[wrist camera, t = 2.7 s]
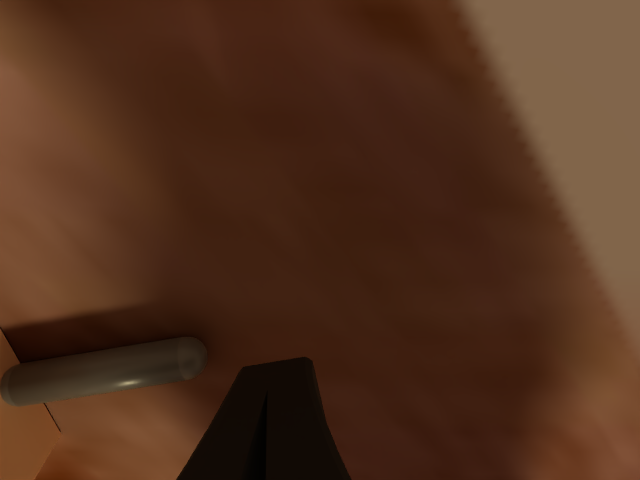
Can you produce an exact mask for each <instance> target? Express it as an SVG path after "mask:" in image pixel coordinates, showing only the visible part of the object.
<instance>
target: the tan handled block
mask: <svg viewBox="0 0 640 480" xmlns="http://www.w3.org/2000/svg"><path fill="white" fill-rule="evenodd" d="M207 360H208V354H207V350H206V348H205V346H204V344H203V343H202V342H201V341H200V340H198V339H196V338H194V337H188V336H187V337H179V338H173V339H167V340H161V341H155V342H148V343H142V344H136V345H130V346H124V347H118V348H112V349H106V350H100V351H94V352H87V353H81V354H75V355H69V356H63V357H57V358H51V359H45V360H39V361H32V362H26V363H21V364H20V362H19V360H18V358H17V357H16V355H15V353H14V352H13V350H12V348H11V346H10V345H9V343H8V341H7V339H6V338H5V336H4V334H3V332H2V331H1V329H0V480H34V479H35V478H36V476H37V474H38V473H39V471H40V469H41V468H42V466H43V464H44V463H45V461H46V459H47V458H48V456H49V454H50V453H51V451H52V449H53V447H54V446H55V444H56V442H57V441H58V439H59V437H60V436H61V433H60V431H59V429H58V428H57V426H56V424H55V422H54V421H53V419H52V417H51V416H50V414H49V412H48V410H47V409H46V407H45V405H44V403H47V402H53V401H59V400H65V399H72V398H78V397H84V396H91V395H97V394H103V393H109V392H116V391H122V390H128V389H134V388H141V387H147V386H153V385H160V384H166V383H172V382H178V381H185V380H190V379H193V378H195V377H197V376H198V375H199V374H201V372H202V371H203V370H204V368H205V367H206V364H207Z"/></svg>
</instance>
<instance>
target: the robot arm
mask: <svg viewBox="0 0 640 480" xmlns="http://www.w3.org/2000/svg"><path fill="white" fill-rule="evenodd" d="M176 480H351V478H350V476H349V474H348V472H347V470H346V468H345V466H344V463H343V461H342V459H341V457H340V455H339V452H338V450H337V448H336V445H335V443H334V440H333V438H332V435H331V433H330V430H329V428H328V426H327V423H326V419H325V415H324V410H323V406H322V401H321V397H320V393H319V388H318V384H317V379H316V375H315V370H314V366H313V362H312V360H310V359H309V358H307V357H301V358H295V359H288V360H282V361H276V362H270V363H264V364H258V365H251V366H245V367H243V368H242V369H241V370H240V372H239V373H238V375H237V377H236V379H235V381H234V382H233V384H232V386H231V388H230V390H229V392H228V394H227V395H226V397H225V399H224V401H223V403H222V404H221V406H220V408H219V410H218V412H217V413H216V415H215V417H214V419H213V420H212V422H211V424H210V426H209V427H208V429H207V431H206V432H205V434H204V436H203V437H202V439H201V441H200V442H199V444H198V445H197V447H196V449H195V450H194V452H193V454H192V455H191V457H190V459H189V460H188V462H187V464H186V465H185V467H184V468H183V470H182V471H181V473H180V475H179V476H178V478H177V479H176Z"/></svg>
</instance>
